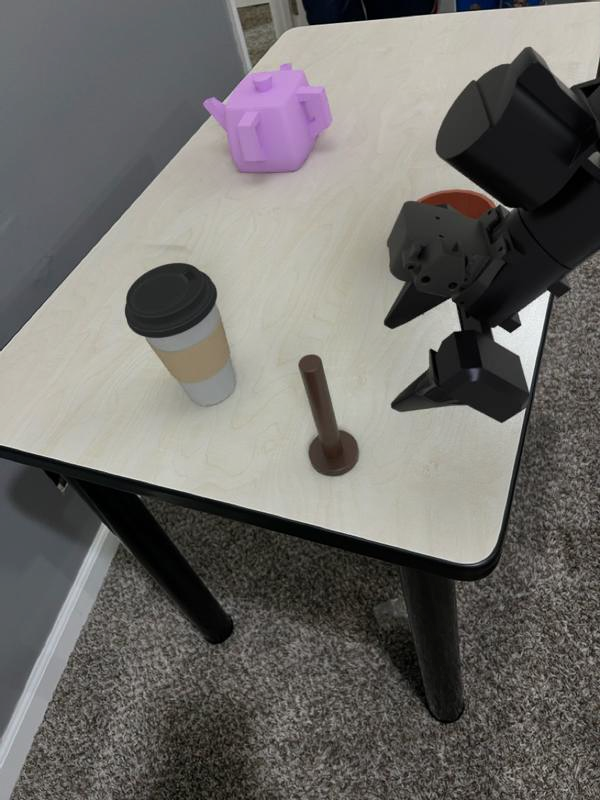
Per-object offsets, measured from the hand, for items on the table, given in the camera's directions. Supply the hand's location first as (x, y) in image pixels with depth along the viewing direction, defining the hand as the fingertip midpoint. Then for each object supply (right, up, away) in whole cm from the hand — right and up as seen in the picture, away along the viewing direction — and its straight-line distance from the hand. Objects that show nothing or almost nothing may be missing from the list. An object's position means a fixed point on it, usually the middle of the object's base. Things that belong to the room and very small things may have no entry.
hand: (391, 364), depth 50 cm
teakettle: (-11, +40, +52) cm, 66 cm away
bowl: (+12, +17, +27) cm, 34 cm away
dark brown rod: (-4, -8, +11) cm, 14 cm away
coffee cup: (-18, -1, +20) cm, 27 cm away
